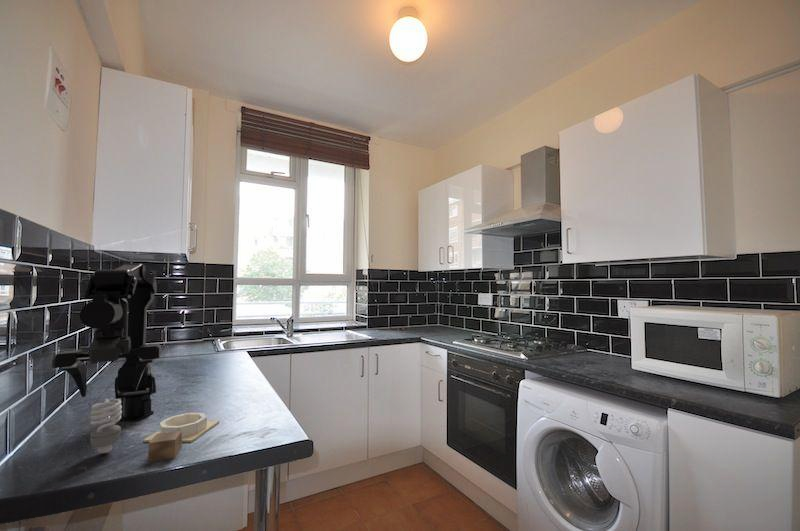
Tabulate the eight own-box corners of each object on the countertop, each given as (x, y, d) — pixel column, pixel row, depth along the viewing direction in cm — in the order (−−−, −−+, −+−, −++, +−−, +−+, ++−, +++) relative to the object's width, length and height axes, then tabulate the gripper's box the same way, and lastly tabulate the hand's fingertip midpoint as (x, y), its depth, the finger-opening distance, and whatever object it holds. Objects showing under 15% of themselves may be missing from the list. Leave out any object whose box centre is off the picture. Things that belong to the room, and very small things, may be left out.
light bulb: (101, 448, 83) (102, 395, 84) (127, 447, 83) (128, 394, 84) (81, 460, 77) (83, 403, 78) (109, 459, 78) (110, 402, 78)
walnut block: (148, 462, 76) (148, 442, 77) (156, 451, 81) (156, 433, 81) (175, 458, 78) (175, 439, 78) (181, 448, 83) (181, 430, 83)
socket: (142, 441, 86) (143, 429, 86) (176, 422, 98) (176, 411, 98) (191, 442, 86) (191, 429, 86) (219, 422, 97) (219, 411, 98)
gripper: (43, 330, 71) (40, 411, 70) (156, 324, 80) (155, 396, 79) (62, 325, 81) (60, 396, 80) (162, 320, 89) (161, 384, 89)
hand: (110, 393), depth 81 cm, fingers open, 9 cm apart
